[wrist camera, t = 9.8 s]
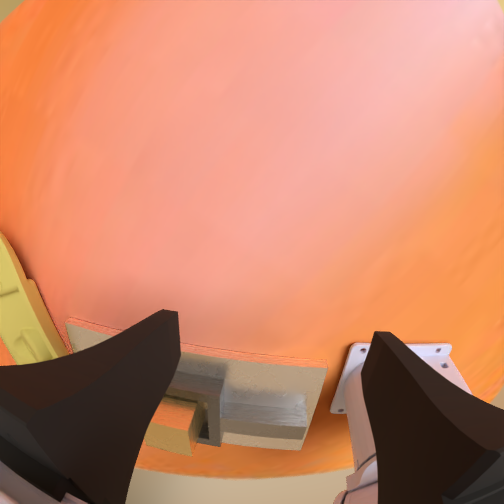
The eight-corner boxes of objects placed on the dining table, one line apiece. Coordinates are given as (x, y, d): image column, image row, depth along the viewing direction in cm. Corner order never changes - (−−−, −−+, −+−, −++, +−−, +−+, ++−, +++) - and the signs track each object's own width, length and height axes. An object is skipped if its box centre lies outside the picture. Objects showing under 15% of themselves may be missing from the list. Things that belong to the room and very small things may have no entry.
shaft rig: (326, 359, 21) (330, 386, 18) (300, 443, 25) (300, 465, 22) (70, 317, 23) (52, 333, 20) (98, 402, 27) (86, 419, 24)
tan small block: (203, 385, 22) (187, 430, 17) (205, 414, 23) (192, 456, 19) (158, 376, 23) (136, 418, 18) (164, 406, 24) (146, 445, 19)
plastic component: (78, 389, 24) (13, 399, 21) (85, 348, 30) (26, 361, 28) (-5, 202, 16) (-69, 236, 14) (26, 190, 23) (-35, 219, 20)
